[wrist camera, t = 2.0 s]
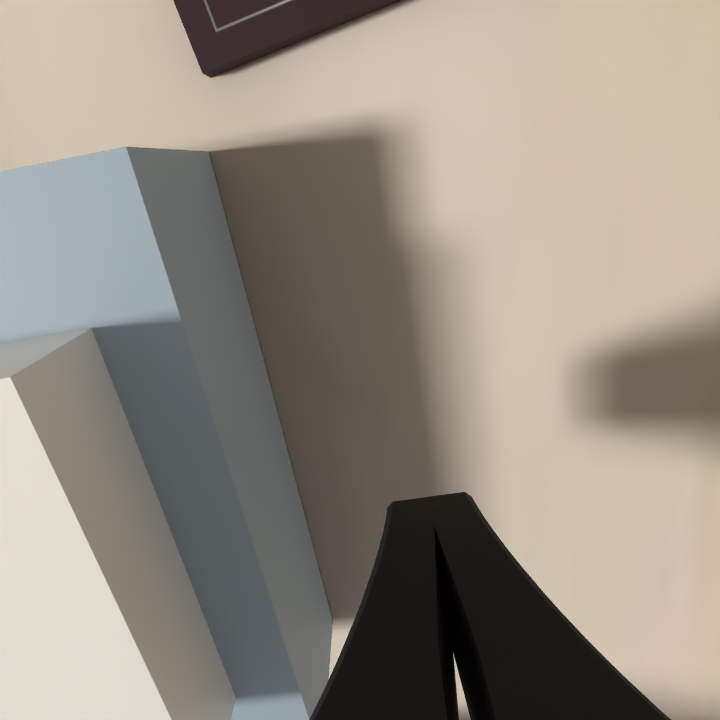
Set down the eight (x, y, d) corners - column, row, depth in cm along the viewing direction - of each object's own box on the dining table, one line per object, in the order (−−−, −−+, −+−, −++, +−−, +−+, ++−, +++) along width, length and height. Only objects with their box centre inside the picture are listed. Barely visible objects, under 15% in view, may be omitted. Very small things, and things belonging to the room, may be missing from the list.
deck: (332, 620, 16) (322, 760, 12) (10, 658, 17) (-91, 800, 13) (208, 151, 11) (125, 146, 7) (-245, 239, 12) (-529, 277, 8)
